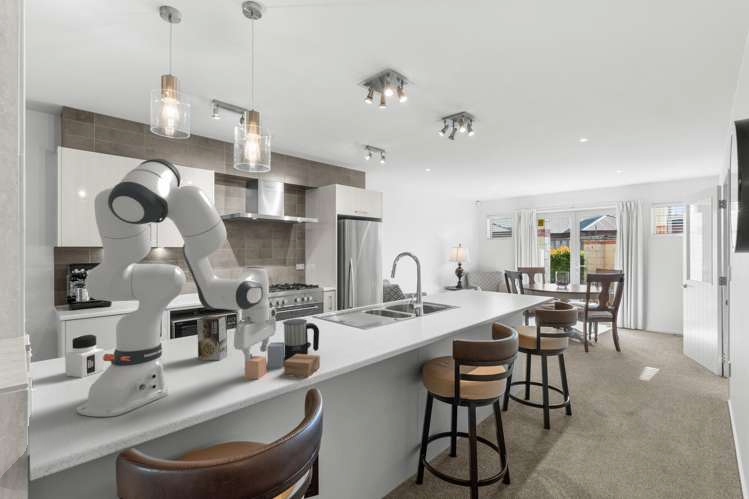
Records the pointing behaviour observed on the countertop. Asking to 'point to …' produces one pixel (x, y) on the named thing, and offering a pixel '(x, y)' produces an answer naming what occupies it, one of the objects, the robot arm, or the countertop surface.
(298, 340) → the milk frother
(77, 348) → the container
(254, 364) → the terracotta block
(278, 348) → the slate block
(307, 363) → the walnut block
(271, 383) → the countertop surface
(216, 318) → the coffee box
